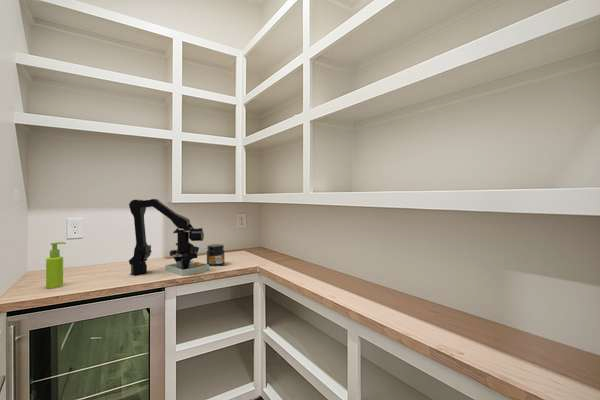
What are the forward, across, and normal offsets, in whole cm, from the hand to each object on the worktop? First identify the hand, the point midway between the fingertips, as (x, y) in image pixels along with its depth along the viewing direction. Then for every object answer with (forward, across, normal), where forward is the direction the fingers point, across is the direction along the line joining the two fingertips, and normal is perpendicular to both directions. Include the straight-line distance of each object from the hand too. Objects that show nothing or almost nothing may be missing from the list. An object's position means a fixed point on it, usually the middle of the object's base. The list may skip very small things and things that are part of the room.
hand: (183, 270), depth 151 cm
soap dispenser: (+2, +24, +48) cm, 54 cm away
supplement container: (+2, +2, -22) cm, 22 cm away
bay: (+2, +2, -4) cm, 4 cm away
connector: (+1, 0, -2) cm, 2 cm away
